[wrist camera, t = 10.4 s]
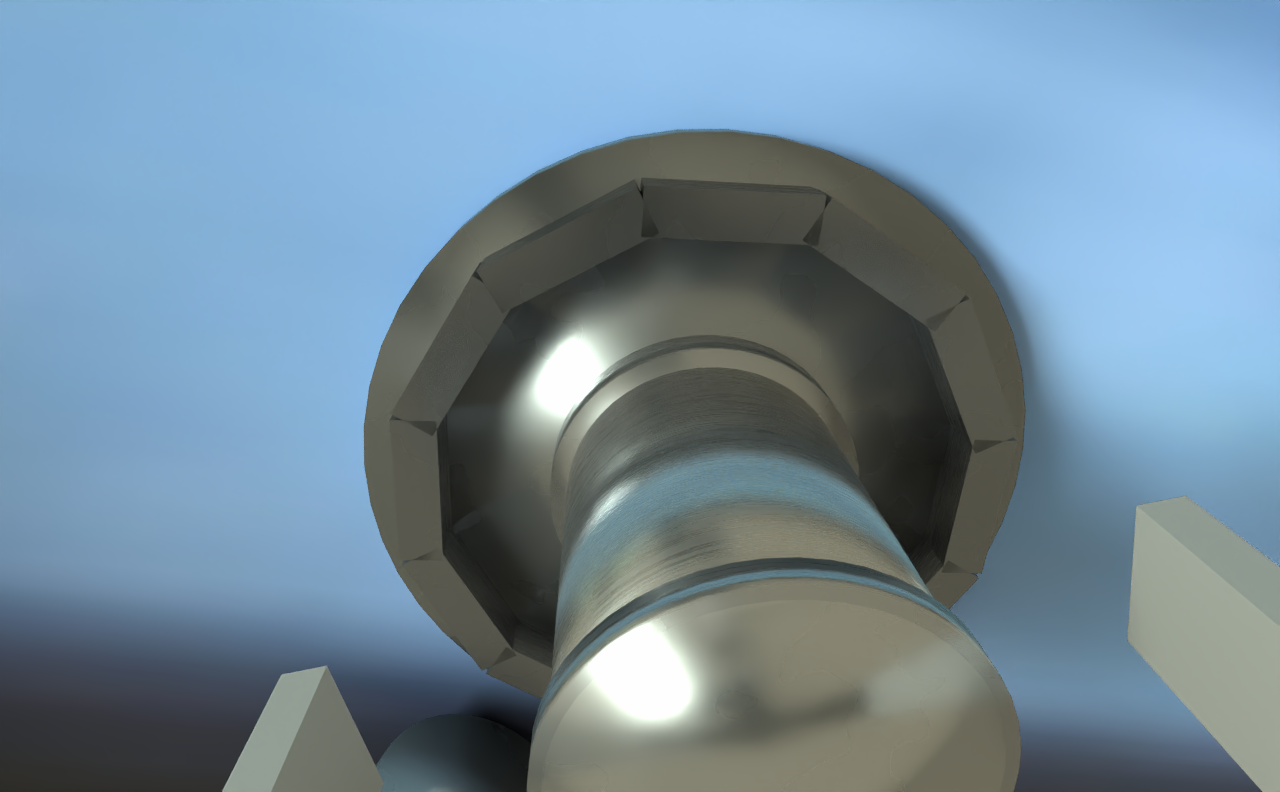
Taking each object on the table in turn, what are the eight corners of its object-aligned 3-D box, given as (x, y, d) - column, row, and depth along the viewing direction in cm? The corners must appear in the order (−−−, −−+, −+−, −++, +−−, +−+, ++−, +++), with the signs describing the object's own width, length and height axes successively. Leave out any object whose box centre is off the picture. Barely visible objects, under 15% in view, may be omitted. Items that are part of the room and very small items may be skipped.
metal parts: (593, -36, 15) (588, -97, 10) (1142, 369, 19) (1369, 496, 14) (144, 767, 23) (-9, 999, 17) (603, 941, 27) (603, 1176, 21)
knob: (518, 370, 18) (444, 634, 9) (830, 305, 17) (1035, 520, 9) (589, 619, 21) (579, 991, 12) (859, 567, 20) (1036, 912, 12)
